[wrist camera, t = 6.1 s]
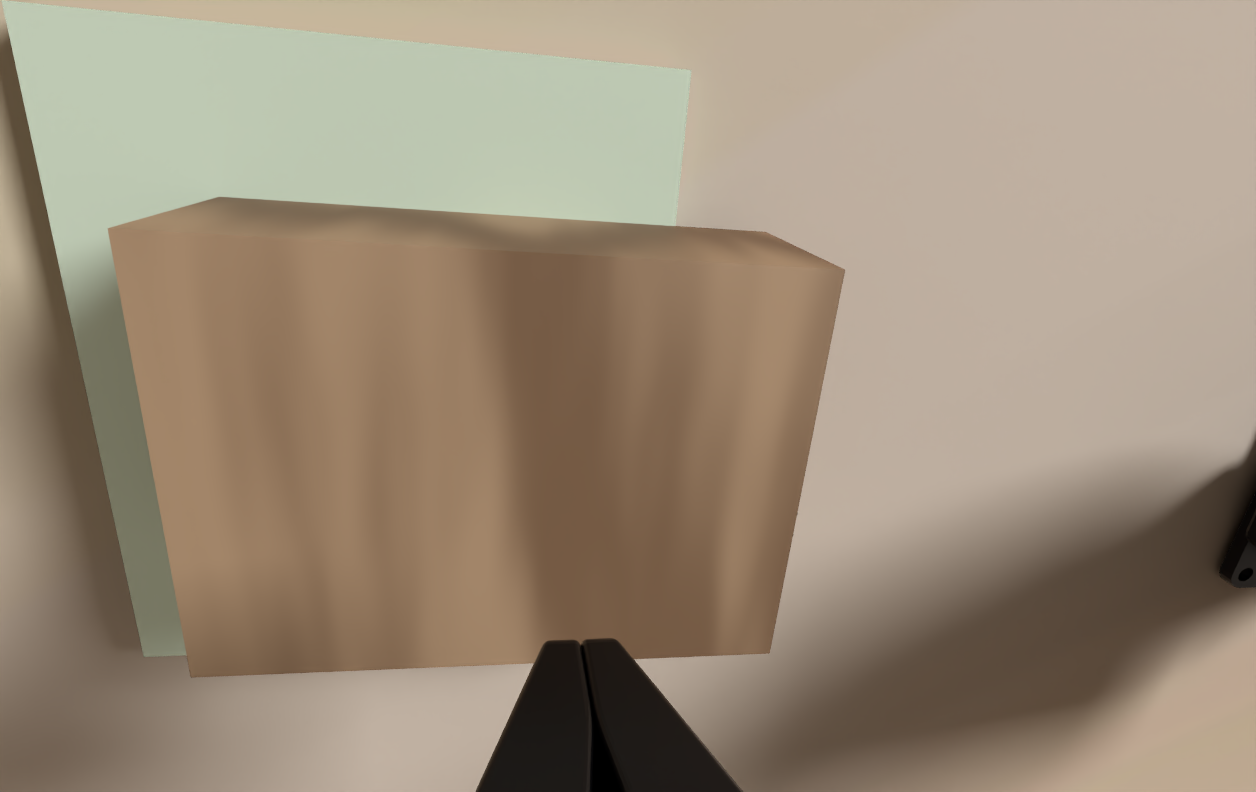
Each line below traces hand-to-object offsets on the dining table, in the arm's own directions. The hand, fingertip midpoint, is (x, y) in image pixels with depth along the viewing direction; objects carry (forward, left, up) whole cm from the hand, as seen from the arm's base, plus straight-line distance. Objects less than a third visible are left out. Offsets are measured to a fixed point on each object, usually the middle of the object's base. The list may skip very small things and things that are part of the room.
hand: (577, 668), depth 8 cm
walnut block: (-5, 0, -6) cm, 8 cm away
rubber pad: (+3, 0, -10) cm, 10 cm away
